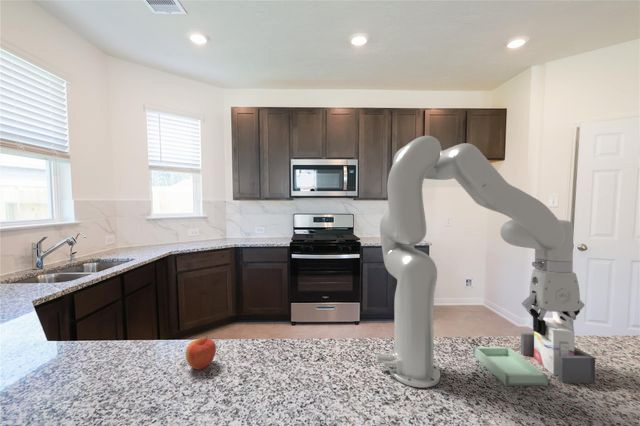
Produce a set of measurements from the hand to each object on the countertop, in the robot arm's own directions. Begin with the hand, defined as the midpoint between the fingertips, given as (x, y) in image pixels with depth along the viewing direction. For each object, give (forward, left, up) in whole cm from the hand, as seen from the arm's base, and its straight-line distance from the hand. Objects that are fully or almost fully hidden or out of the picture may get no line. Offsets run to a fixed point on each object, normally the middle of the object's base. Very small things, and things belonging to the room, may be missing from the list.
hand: (552, 332), depth 70 cm
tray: (-13, -1, -9) cm, 16 cm away
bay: (0, 0, -9) cm, 9 cm away
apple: (-94, +1, -9) cm, 94 cm away
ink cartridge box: (0, 0, -9) cm, 9 cm away
